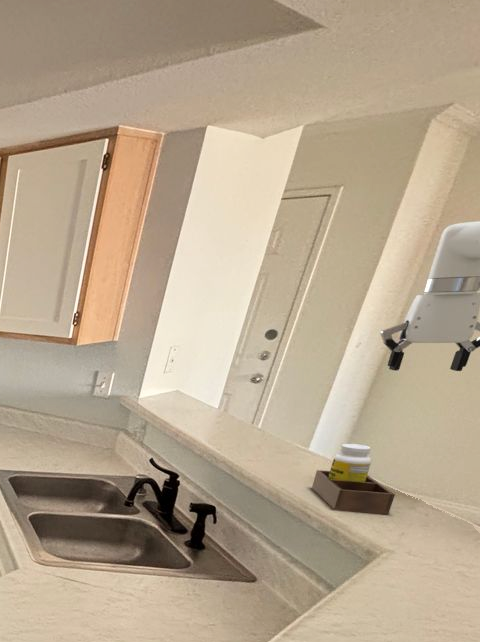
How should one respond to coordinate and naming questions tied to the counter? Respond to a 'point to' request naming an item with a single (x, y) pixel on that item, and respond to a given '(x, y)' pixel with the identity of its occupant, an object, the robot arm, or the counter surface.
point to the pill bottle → (351, 463)
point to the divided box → (353, 494)
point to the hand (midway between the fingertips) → (424, 370)
